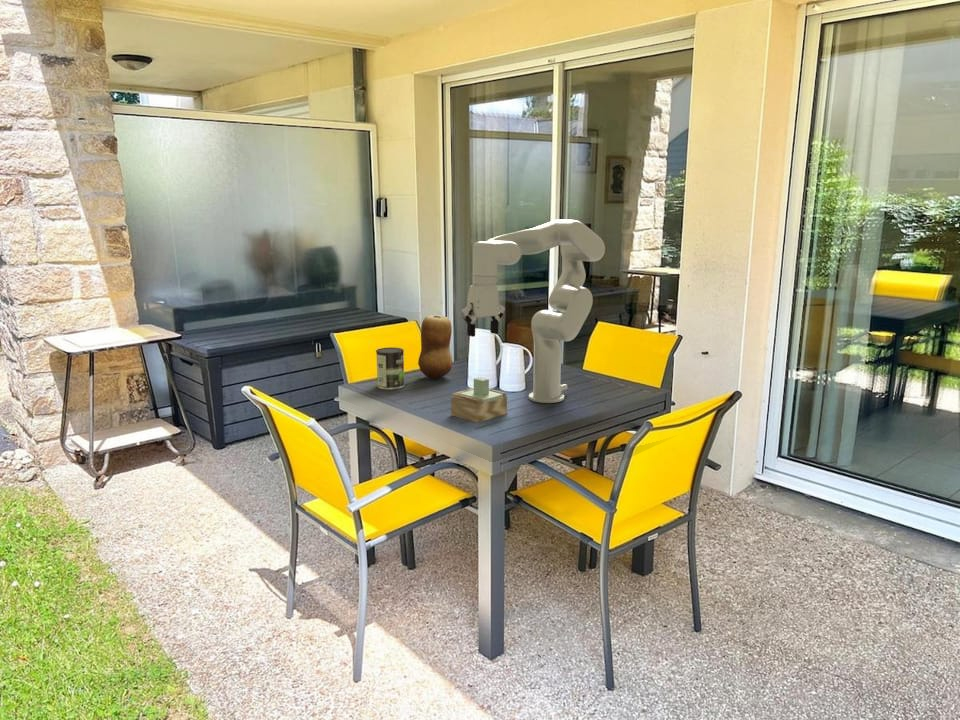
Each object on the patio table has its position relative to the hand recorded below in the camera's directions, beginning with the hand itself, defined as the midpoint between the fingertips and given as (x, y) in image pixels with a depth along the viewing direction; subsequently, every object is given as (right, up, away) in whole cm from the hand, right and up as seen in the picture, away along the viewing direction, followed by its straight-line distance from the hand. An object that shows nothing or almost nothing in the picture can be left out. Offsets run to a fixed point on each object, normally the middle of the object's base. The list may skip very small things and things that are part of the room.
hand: (482, 334), depth 226 cm
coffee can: (-35, -18, +42) cm, 57 cm away
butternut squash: (-18, -16, +54) cm, 59 cm away
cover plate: (0, -20, +5) cm, 21 cm away
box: (-1, -26, +7) cm, 27 cm away
